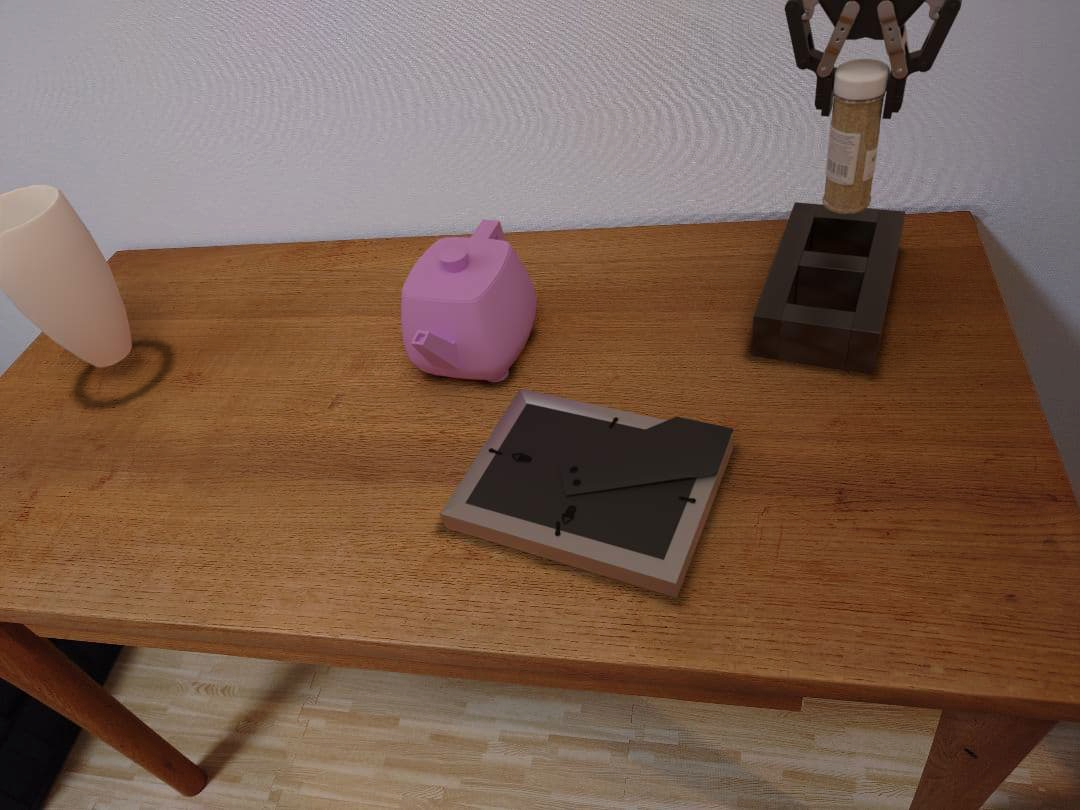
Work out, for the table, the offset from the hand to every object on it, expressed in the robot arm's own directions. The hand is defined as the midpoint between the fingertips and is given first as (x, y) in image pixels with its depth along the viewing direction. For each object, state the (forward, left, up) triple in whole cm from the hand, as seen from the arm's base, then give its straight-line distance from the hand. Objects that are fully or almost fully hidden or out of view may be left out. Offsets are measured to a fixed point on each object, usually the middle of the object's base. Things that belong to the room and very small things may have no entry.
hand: (857, 112), depth 72 cm
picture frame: (+15, +34, -18) cm, 42 cm away
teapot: (+33, +20, -18) cm, 43 cm away
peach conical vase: (+73, +33, -18) cm, 82 cm away
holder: (0, +4, -18) cm, 19 cm away
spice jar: (0, 0, -10) cm, 10 cm away
